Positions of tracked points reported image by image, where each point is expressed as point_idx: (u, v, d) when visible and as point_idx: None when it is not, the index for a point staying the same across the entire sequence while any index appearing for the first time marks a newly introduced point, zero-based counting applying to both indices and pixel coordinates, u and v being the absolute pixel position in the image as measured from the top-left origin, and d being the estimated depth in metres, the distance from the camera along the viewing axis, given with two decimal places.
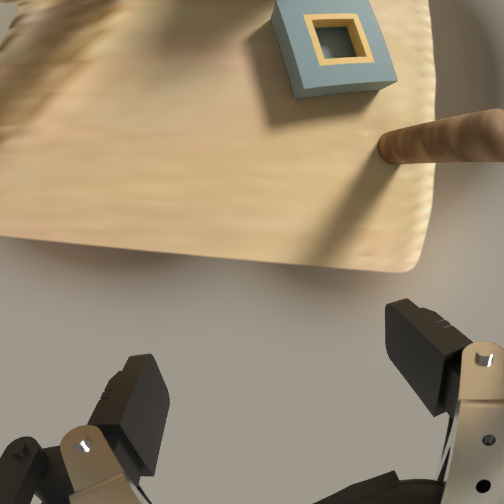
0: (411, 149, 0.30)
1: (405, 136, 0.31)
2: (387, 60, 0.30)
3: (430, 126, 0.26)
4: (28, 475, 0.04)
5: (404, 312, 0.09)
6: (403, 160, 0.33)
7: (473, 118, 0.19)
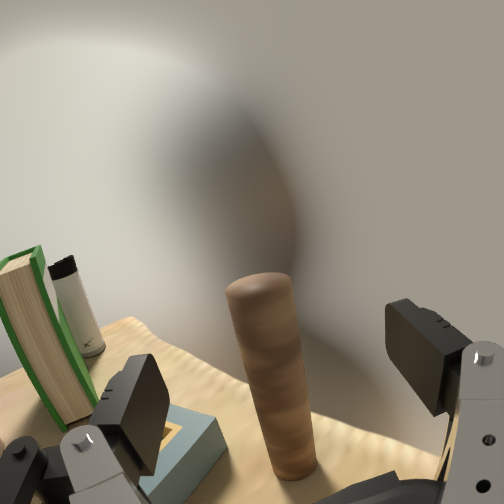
0: (280, 432, 0.22)
1: (265, 435, 0.24)
2: (191, 414, 0.30)
3: (251, 393, 0.23)
4: (29, 476, 0.04)
5: (404, 312, 0.09)
6: (301, 452, 0.23)
7: (232, 320, 0.21)
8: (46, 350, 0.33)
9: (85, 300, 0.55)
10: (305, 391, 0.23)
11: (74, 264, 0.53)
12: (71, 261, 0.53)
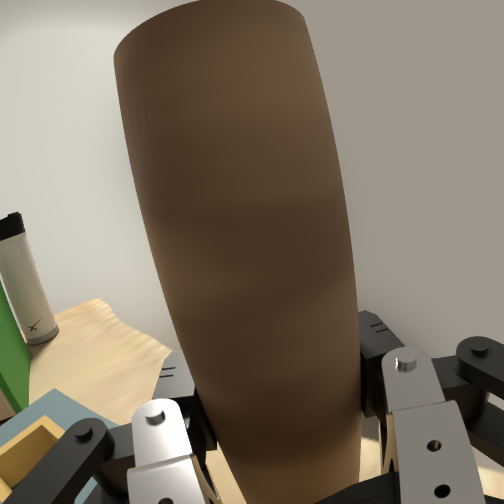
0: None
1: (249, 503, 0.08)
2: None
3: None
4: (87, 461, 0.05)
5: None
6: None
7: (126, 143, 0.06)
8: None
9: (32, 270, 0.39)
10: (359, 397, 0.07)
11: (20, 224, 0.38)
12: (16, 219, 0.37)
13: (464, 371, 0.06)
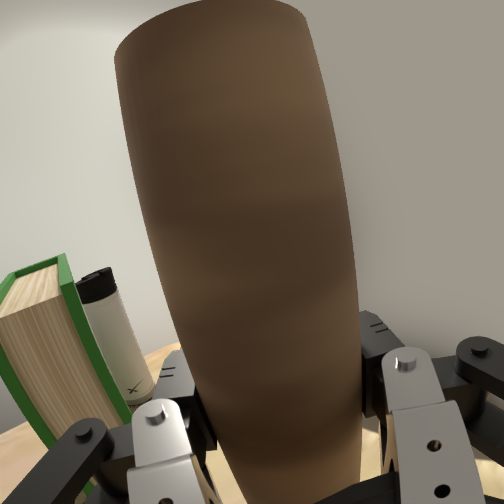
0: None
1: None
2: None
3: None
4: (88, 461, 0.05)
5: None
6: None
7: (127, 144, 0.06)
8: None
9: (129, 330, 0.40)
10: (361, 399, 0.07)
11: (113, 280, 0.39)
12: (109, 276, 0.38)
13: (464, 371, 0.06)
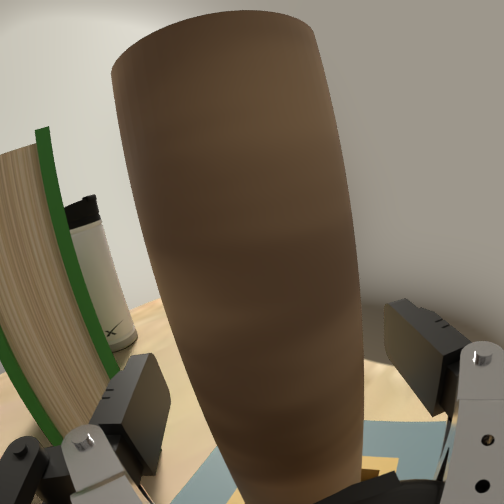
0: None
1: None
2: (399, 429, 0.13)
3: (207, 423, 0.08)
4: (30, 475, 0.04)
5: (403, 312, 0.09)
6: None
7: None
8: (50, 329, 0.16)
9: (111, 264, 0.38)
10: (362, 416, 0.07)
11: (97, 209, 0.37)
12: (93, 204, 0.36)
13: None
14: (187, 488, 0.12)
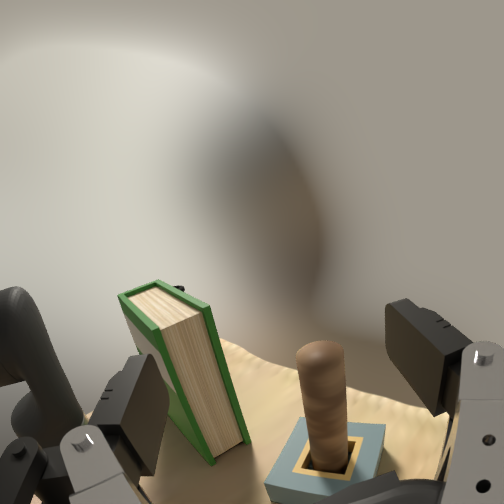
0: (327, 451, 0.29)
1: (314, 453, 0.30)
2: (364, 426, 0.35)
3: (307, 425, 0.29)
4: (28, 476, 0.04)
5: (404, 312, 0.09)
6: (339, 464, 0.30)
7: (300, 378, 0.28)
8: (209, 393, 0.38)
9: None
10: (346, 421, 0.29)
11: None
12: None
13: None
14: (282, 453, 0.34)
